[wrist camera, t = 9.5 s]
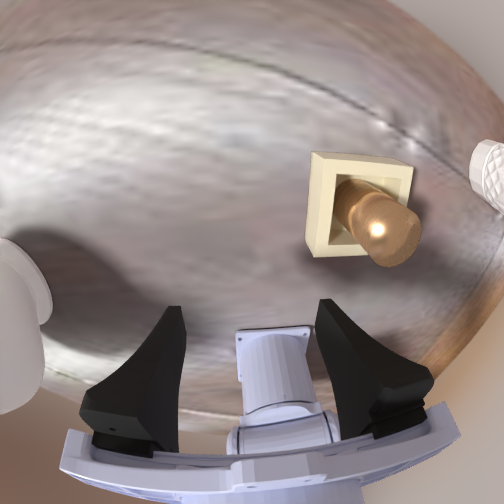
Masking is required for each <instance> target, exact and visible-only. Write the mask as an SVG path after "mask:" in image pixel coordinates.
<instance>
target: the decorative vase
mask: <svg viewBox="0 0 504 504" xmlns="http://www.w3.org/2000/svg"><path fill="white" fill-rule="evenodd" d="M52 309H53V302H52V296H51V293H50V289H49V287H48V284H47V282H46V280H45V278H44V276H43V275H42V273H41V271H40V270H39V268H38V267H37V265H36V264H35V263H34V261H33V260H32V259H31V258H30V257H29V255H28V254H27V253H26V252H25V251H24V250H23V249H21V248H20V247H19V246H18V245H16V244H15V243H13V242H11V241H9V240H7V239H4V238H0V414H4V413H6V412H9V411H12V410H14V409H16V408H18V407H20V406H22V405H23V404H25V403H26V402H27V401H29V400H30V399H31V398H32V397H33V396H34V394H35V393H36V391H37V389H38V388H39V386H40V384H41V381H42V378H43V375H44V368H45V359H44V350H43V344H42V338H41V333H40V328H39V325H41V324H44V323H45V322H46V321H47V320H48V319H49V317H50V316H51V313H52Z"/></svg>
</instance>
